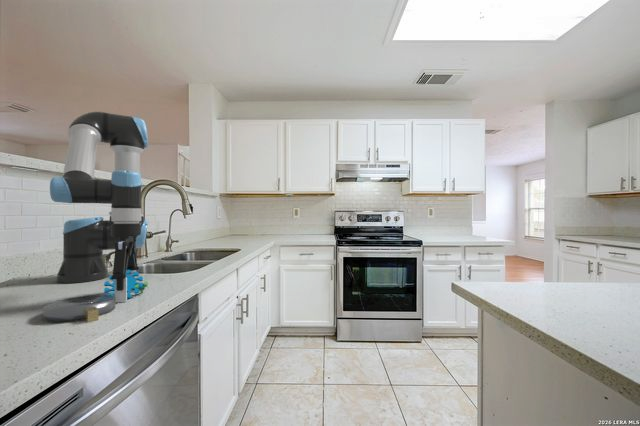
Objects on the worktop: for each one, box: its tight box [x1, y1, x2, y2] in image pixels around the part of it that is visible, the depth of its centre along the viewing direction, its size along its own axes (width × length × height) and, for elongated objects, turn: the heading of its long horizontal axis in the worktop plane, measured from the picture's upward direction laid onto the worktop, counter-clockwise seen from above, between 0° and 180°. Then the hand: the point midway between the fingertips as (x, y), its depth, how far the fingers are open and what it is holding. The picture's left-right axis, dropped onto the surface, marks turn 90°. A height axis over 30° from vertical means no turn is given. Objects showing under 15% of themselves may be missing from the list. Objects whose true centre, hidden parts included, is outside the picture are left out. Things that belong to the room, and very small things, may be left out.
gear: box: [103, 270, 149, 299], centre depth 88 cm, size 11×6×10 cm
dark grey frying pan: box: [42, 294, 116, 324], centre depth 72 cm, size 17×14×2 cm
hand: (126, 296), depth 87 cm, fingers open, 11 cm apart
